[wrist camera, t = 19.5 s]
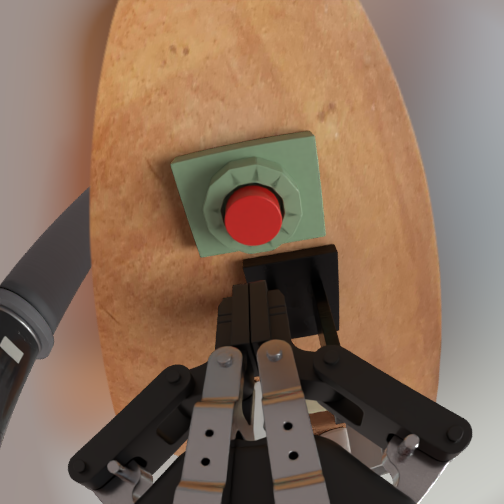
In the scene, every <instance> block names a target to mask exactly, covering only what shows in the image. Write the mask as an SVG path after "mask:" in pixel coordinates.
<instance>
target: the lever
mask: <svg viewBox="0 0 504 504" xmlns="http://www.w3.org/2000/svg"><path fill="white" fill-rule="evenodd" d="M305 401H306V405H307V409H308V413H315V412H321V411H327V410H326V409H325V408H324V407H322V406H321V405H320V404H318V402H317V401H314V400H306V399H305Z"/></svg>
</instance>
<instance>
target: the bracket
mask: <svg viewBox="0 0 504 504" xmlns="http://www.w3.org/2000/svg"><path fill="white" fill-rule="evenodd" d="M243 271H244V274H245V278H246V282H247V283H249V285H250V282H256V281H262V280H266V284H267V289H268V291H270V290H276V289H279V290H280V292H281V293H282V294H283V295H284V298H285V304H286V310H287V316H288V322H289V329H290V335H291V339H294V338H300V337H306V336H311V335H317V334H318V336H319V340H320V345H321V347H323V346H326V345H338V346H340V343H339V339H338V335H337V331H338V330H339V277H338V252H337V249H336V247H335V245H334V244H333V245H328V246H322V247H316V248H310V249H304V250H299V251H293V252H287V253H281V254H275V255H269V256H263V257H258V258H252V259H246V260H243ZM335 422H336V424H340V423H344V422H343V421H341V420H340V419H339V418H337V417H336V416H335Z"/></svg>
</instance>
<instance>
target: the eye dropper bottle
mask: <svg viewBox="0 0 504 504" xmlns="http://www.w3.org/2000/svg"><path fill="white" fill-rule="evenodd" d="M320 436H322V437H326V438H328V439H331V440H333V441H334V442H336V443H338V444H339V445H341V446H342V447H343V448H344V449H346V450H347V451H348V452H349V453H351V450H350V445H349V439H348V434H347V428H345V427H342V428H337V429H333V430H330V431H327V432H325V433H323V434H321V435H320Z"/></svg>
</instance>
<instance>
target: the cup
mask: <svg viewBox="0 0 504 504" xmlns="http://www.w3.org/2000/svg"><path fill="white" fill-rule="evenodd" d="M346 428H347V434H348V439H349V445H350V450H351V454H352V455H353V456H354V457H356V458H357V459H358V460H360V461H361V462H362V463H363V464H365V465H366V466H367V467H369V468H370V469H371V470H373V471H374V472H375V473H377V474H378V475H379V476H381V475H384V474H388V473H389V472H387V471H386V470H385V468H384V467H383V465H382V455H383V452H384V450H383V449H382V448H380V447H379V446H377V445H376V444H374V443H373V442H371V441H370V440H368V439H367V438H366V437H364V436H363V435H361V434H360V433H358V432H357V431H355V430H354V429H353V428H351V427H350V426H348V425H347V424H346Z"/></svg>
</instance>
